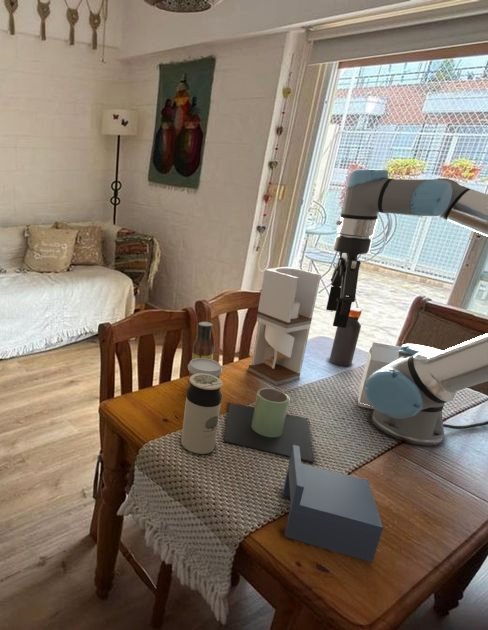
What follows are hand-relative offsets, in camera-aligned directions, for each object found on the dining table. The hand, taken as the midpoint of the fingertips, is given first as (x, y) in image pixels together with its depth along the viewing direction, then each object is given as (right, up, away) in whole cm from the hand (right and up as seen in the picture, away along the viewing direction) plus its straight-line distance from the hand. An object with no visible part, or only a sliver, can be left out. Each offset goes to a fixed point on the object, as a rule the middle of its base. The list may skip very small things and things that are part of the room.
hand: (335, 318), depth 113 cm
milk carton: (+20, -26, +15) cm, 36 cm away
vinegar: (+27, -16, +42) cm, 52 cm away
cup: (-17, -29, +2) cm, 34 cm away
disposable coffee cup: (-30, -25, +15) cm, 42 cm away
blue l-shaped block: (-19, -40, -28) cm, 53 cm away
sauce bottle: (-27, -21, +27) cm, 43 cm away
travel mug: (-37, -32, -4) cm, 49 cm away
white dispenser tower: (-1, -19, +32) cm, 38 cm away
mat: (-17, -30, +2) cm, 34 cm away
